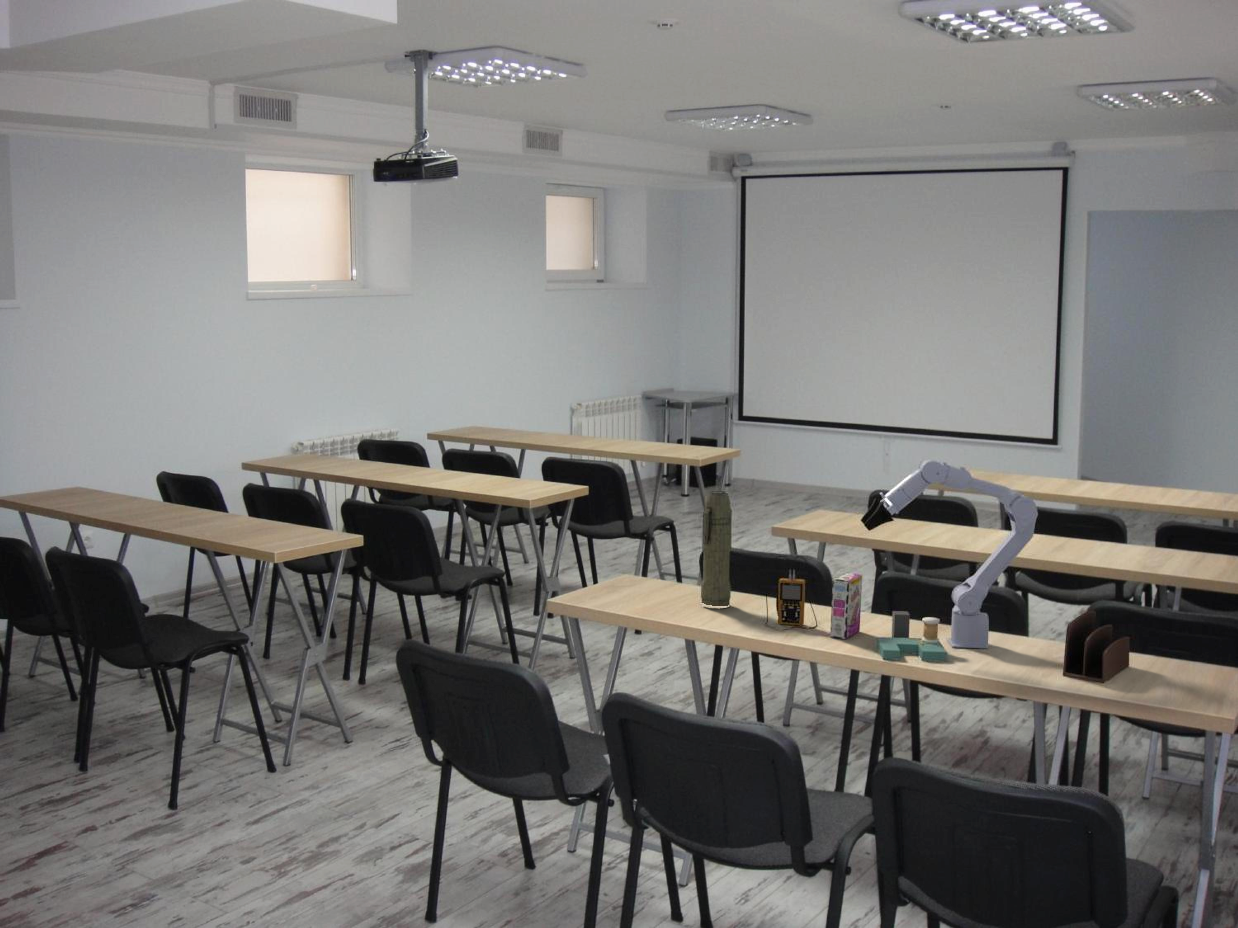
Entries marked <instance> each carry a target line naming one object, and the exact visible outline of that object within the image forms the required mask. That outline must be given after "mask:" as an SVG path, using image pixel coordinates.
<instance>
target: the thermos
mask: <svg viewBox="0 0 1238 928" xmlns="http://www.w3.org/2000/svg"><path fill="white" fill-rule="evenodd" d="M732 512H733V511H732V507H731V501H730V497H729V494H728V493H727V492H726V491H725V490H724V491H722V490H711V491H710V492H707V494H706V496H705V500H704V510H703V513H702V534H701V535H702V537H701V539H702V540H701V542H702V543H701V548H702V552H703V562H702V564H703V565H702V567H703V568H702V569H703V570H702V580H701V584H700V599H701V603H704V604H706V605H712V606H728V605H730V603H731V602H730V600H731V593H732V590H731V589H732V588H731V587H732V586H731V582H730V554H731V550H732V534H733V533H732V522H733V520H732V519H733V518H732V516H733V515H732V514H733V513H732ZM730 606H731V605H730Z"/></svg>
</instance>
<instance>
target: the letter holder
mask: <svg viewBox="0 0 1238 928" xmlns="http://www.w3.org/2000/svg"><path fill="white" fill-rule="evenodd" d="M1096 616H1097V612H1096V611H1095V610H1089V611H1086V612H1083V613H1081V614H1080V615H1078V616H1076V617H1075V618H1074V619H1073V620H1071V621H1070V622H1069V623H1068V624H1067V626H1066V630H1065V631H1066V632H1065V644H1064V656H1063V667H1062V668H1063V671H1062V677H1067V678H1072V679H1077V680H1081V681H1088V682H1092V683H1098V684H1105V683H1106V682H1107V681H1109V680H1111V679H1112V678H1114V677H1115V676H1117V675H1119V674H1120V673H1121V672H1123V671H1124V670H1125V669H1127V668H1128V667H1130V644H1131V643H1130V637H1129V636H1123V637H1120V638H1118V639H1117V640H1114V641H1113V640H1112V639H1113V625H1112V624H1105V625H1102V626H1100V627H1098V628H1096V618H1097V617H1096ZM1095 628H1096V629H1095ZM1112 641H1113V642H1112Z"/></svg>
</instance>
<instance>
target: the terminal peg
mask: <svg viewBox="0 0 1238 928" xmlns="http://www.w3.org/2000/svg"><path fill="white" fill-rule="evenodd" d="M891 614H892V617H891V618H892V619H891V638H910V623H911V621H910V619H911V618H910V617H911V614H910V613H909V611H905V610H902V611H901V610H898V611H896V610H892V613H891Z"/></svg>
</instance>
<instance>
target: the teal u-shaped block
mask: <svg viewBox="0 0 1238 928" xmlns="http://www.w3.org/2000/svg"><path fill="white" fill-rule="evenodd" d="M940 620H941V619H940V618H937V617H931V616H930V617H929V616H927V617H923V618H922V623H923V635H922V637H921V638H919V637H917V638H916V637H915V638H913V637H909V638H892V636H890V637H889V636H888V637H887V636H885V637H883V636H876V648H877V650H878V652H879V654H880V656H881V658H882V659H883V661H884V660H886V661H887V660H889V661H890V660H891V661H900V659H901V657H900V656H901V654H904V653H917V654H916V655H918V657H919V656H920V657H919V659H920V658H921V659H920V660H921V661H922V660H927V661H926V662H947V660H948V658H947V657H948V655H947V654H948V651H947V650H946V648H945V647H944V646H943V644H942V643H941V642H940V639H939V638H938V633H939V632H938V631H939V629H938V628H939V624H940V622H941V621H940Z"/></svg>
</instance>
